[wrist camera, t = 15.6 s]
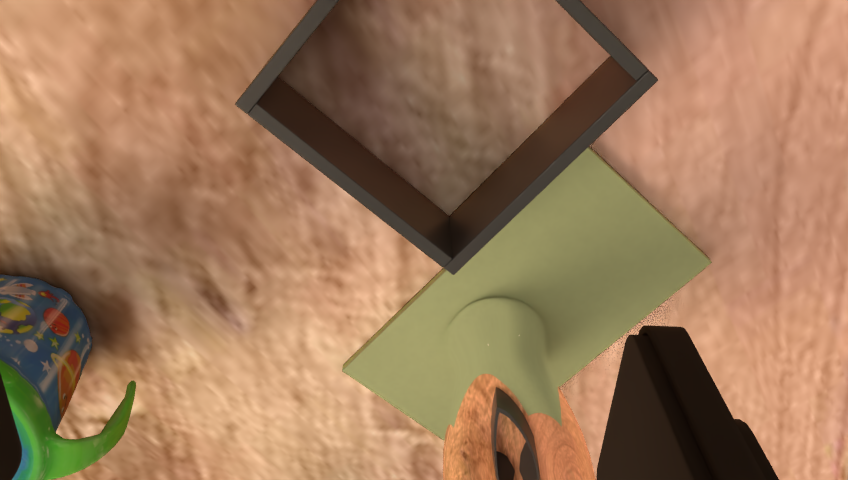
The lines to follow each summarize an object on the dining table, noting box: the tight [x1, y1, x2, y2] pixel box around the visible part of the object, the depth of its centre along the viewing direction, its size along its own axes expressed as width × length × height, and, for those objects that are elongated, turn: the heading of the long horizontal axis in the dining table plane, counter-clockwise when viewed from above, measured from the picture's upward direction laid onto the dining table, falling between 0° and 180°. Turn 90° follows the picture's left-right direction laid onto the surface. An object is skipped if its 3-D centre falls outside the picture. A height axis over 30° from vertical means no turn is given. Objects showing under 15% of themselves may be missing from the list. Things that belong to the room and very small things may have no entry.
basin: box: [235, 0, 658, 275], centre depth 35 cm, size 13×13×5 cm
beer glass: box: [443, 297, 596, 480], centre depth 37 cm, size 7×7×15 cm
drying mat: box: [342, 147, 712, 441], centre depth 43 cm, size 20×11×1 cm, turn 138°
